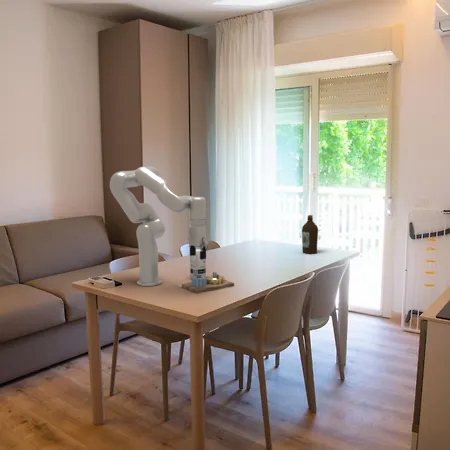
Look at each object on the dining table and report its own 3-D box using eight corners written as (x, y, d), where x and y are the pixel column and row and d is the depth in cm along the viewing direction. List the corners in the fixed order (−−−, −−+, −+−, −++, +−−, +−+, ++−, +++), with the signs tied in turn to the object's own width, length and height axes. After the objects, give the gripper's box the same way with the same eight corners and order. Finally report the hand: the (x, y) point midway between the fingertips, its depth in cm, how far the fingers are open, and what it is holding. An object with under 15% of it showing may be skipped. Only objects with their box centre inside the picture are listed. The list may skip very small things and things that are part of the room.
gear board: (181, 287, 242) (181, 274, 241) (218, 280, 254) (218, 268, 253) (195, 293, 230) (195, 280, 229) (234, 286, 242) (234, 273, 241)
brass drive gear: (201, 281, 245) (201, 272, 244) (217, 279, 251) (217, 269, 250) (211, 286, 237) (211, 276, 236) (228, 282, 242) (228, 273, 242)
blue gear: (188, 284, 240) (188, 276, 239) (201, 282, 244) (201, 274, 243) (196, 288, 234) (196, 279, 233) (209, 285, 238) (209, 277, 237)
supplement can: (190, 276, 263) (189, 248, 261) (205, 275, 264) (205, 248, 262) (190, 280, 255) (189, 251, 253) (206, 279, 256) (205, 251, 253)
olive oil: (310, 250, 330) (310, 214, 326) (321, 253, 321) (321, 215, 317) (298, 252, 324) (298, 215, 321) (309, 255, 315) (309, 216, 312)
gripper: (182, 220, 240) (182, 254, 242) (200, 225, 225) (200, 261, 228) (195, 219, 244) (195, 253, 246) (214, 224, 229) (213, 259, 232)
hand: (197, 257), depth 237 cm, fingers open, 9 cm apart
